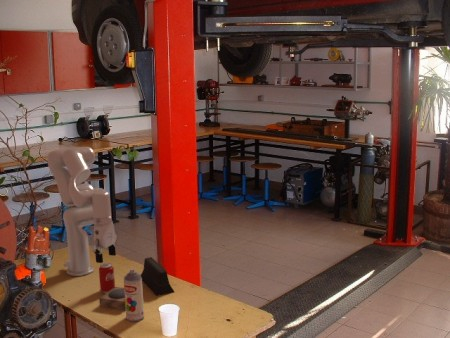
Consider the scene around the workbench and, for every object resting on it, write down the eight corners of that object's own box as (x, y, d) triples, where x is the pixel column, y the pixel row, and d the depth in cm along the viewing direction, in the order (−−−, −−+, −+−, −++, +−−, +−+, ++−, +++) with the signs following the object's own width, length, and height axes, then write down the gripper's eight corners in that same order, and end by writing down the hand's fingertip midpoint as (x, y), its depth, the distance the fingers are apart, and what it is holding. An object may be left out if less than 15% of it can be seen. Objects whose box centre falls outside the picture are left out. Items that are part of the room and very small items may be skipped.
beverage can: (111, 294, 239) (109, 268, 236) (98, 293, 240) (96, 267, 238) (117, 288, 245) (115, 262, 242) (104, 287, 246) (102, 262, 244)
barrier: (138, 278, 256) (137, 258, 254) (156, 274, 260) (155, 254, 258) (156, 297, 235) (154, 274, 234) (175, 292, 239) (174, 270, 237)
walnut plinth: (99, 307, 226) (99, 297, 226) (115, 295, 237) (115, 285, 237) (125, 311, 222) (124, 300, 221) (140, 299, 233) (139, 289, 232)
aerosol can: (123, 320, 214) (119, 271, 210) (132, 313, 220) (129, 265, 216) (138, 323, 212) (135, 273, 208) (147, 315, 218) (144, 267, 214)
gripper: (98, 226, 227) (102, 266, 230) (121, 215, 243) (124, 253, 245) (83, 225, 230) (86, 264, 232) (106, 214, 245) (109, 252, 248)
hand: (106, 258), depth 239 cm, fingers open, 9 cm apart
